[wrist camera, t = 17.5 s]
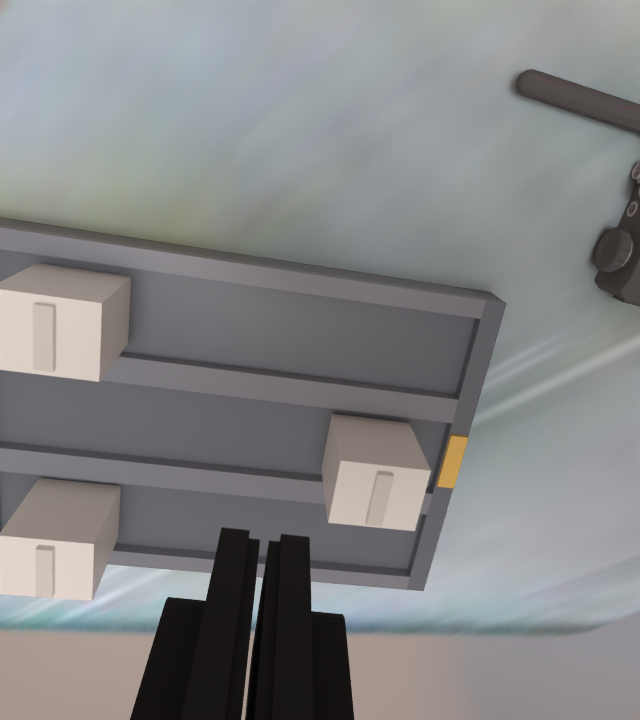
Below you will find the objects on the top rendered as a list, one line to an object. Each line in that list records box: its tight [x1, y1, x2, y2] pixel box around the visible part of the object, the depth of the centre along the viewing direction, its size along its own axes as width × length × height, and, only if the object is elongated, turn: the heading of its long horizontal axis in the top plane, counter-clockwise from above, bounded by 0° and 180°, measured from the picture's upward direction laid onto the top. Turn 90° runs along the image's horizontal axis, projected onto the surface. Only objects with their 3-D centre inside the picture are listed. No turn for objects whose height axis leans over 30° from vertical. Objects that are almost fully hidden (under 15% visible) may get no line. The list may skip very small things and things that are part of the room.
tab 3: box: [321, 414, 431, 531], centre depth 27 cm, size 4×3×5 cm
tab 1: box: [0, 263, 131, 382], centre depth 23 cm, size 4×3×5 cm
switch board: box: [0, 218, 506, 591], centre depth 29 cm, size 24×17×2 cm
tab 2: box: [0, 478, 121, 601], centre depth 27 cm, size 4×3×5 cm
